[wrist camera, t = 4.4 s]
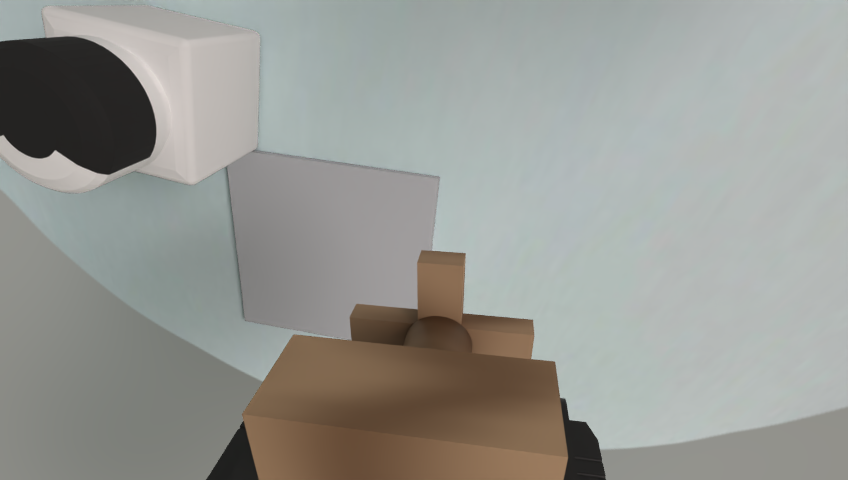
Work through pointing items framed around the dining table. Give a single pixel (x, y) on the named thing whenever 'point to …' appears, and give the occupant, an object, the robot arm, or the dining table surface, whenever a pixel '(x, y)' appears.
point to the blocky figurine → (127, 96)
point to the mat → (326, 238)
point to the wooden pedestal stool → (412, 395)
